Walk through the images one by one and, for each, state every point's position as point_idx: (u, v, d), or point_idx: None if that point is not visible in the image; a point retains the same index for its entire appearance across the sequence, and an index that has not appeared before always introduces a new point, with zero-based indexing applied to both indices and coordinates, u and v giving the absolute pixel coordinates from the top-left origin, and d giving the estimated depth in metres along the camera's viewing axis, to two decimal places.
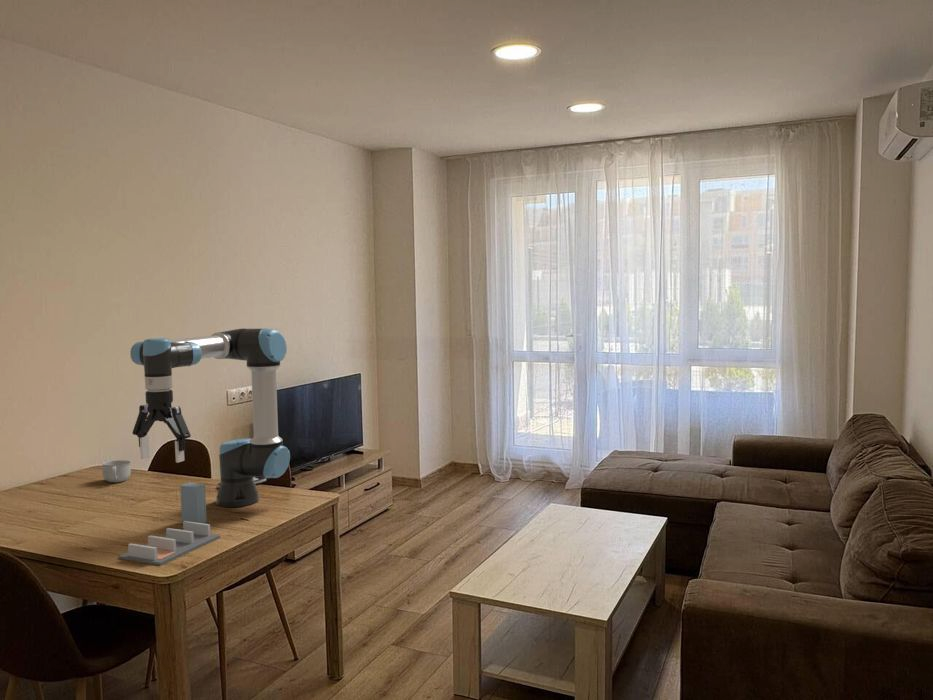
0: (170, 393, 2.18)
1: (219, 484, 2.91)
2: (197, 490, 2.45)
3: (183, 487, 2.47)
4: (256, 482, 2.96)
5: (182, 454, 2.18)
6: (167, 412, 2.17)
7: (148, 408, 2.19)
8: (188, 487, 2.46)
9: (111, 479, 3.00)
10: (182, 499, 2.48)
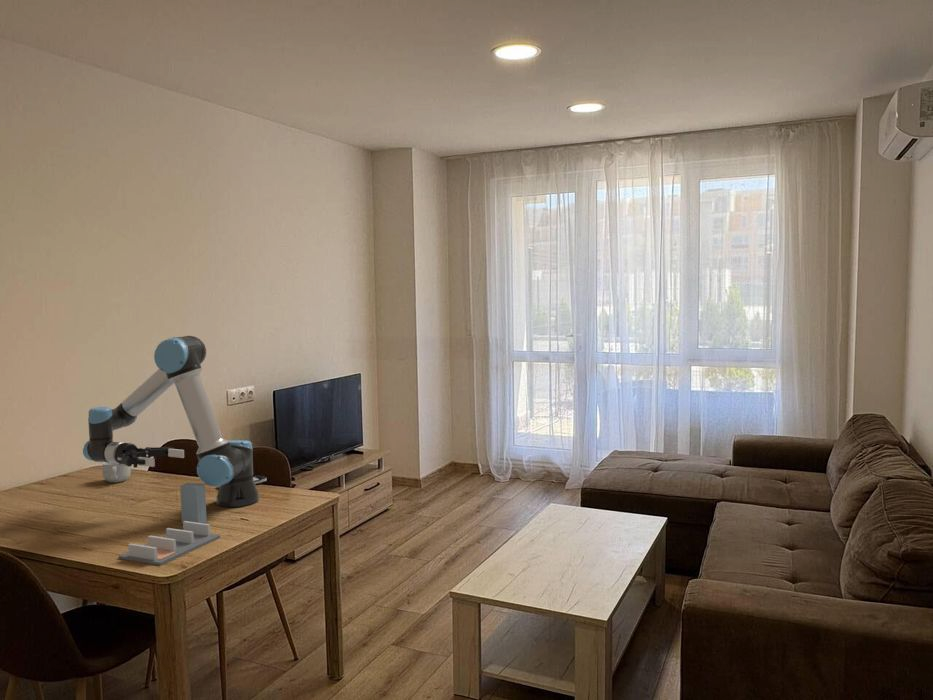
0: (115, 453, 2.55)
1: None
2: (197, 490, 2.45)
3: (183, 487, 2.47)
4: (256, 482, 2.96)
5: (148, 460, 2.45)
6: None
7: None
8: (188, 487, 2.46)
9: (111, 479, 3.00)
10: (182, 499, 2.48)
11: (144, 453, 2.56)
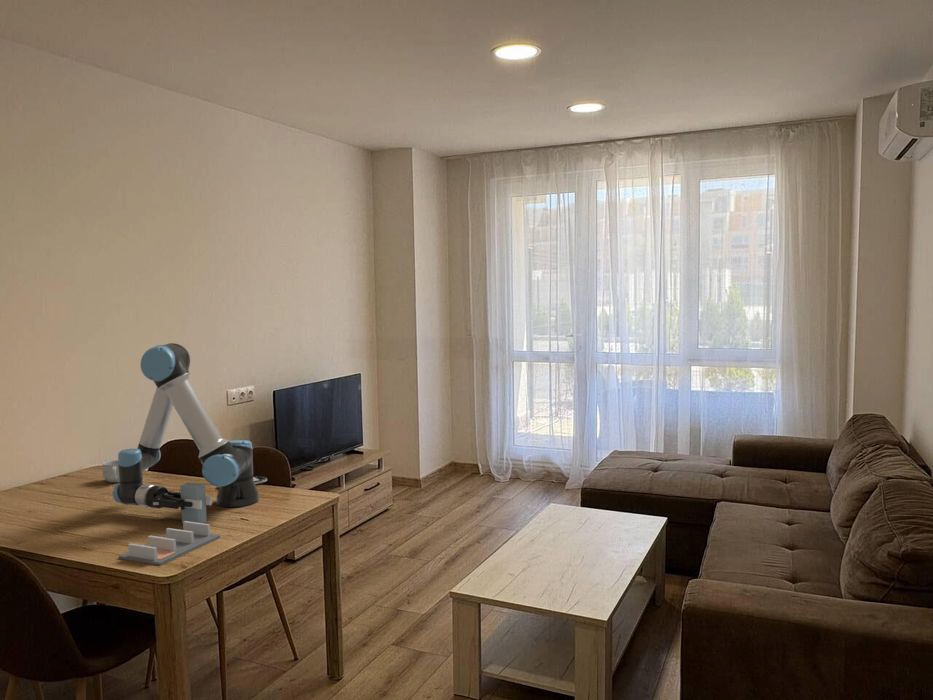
0: (146, 497, 2.51)
1: None
2: (197, 490, 2.45)
3: (183, 487, 2.47)
4: (256, 483, 2.95)
5: (195, 502, 2.45)
6: None
7: None
8: (188, 487, 2.46)
9: (111, 479, 3.00)
10: None
11: (175, 496, 2.53)
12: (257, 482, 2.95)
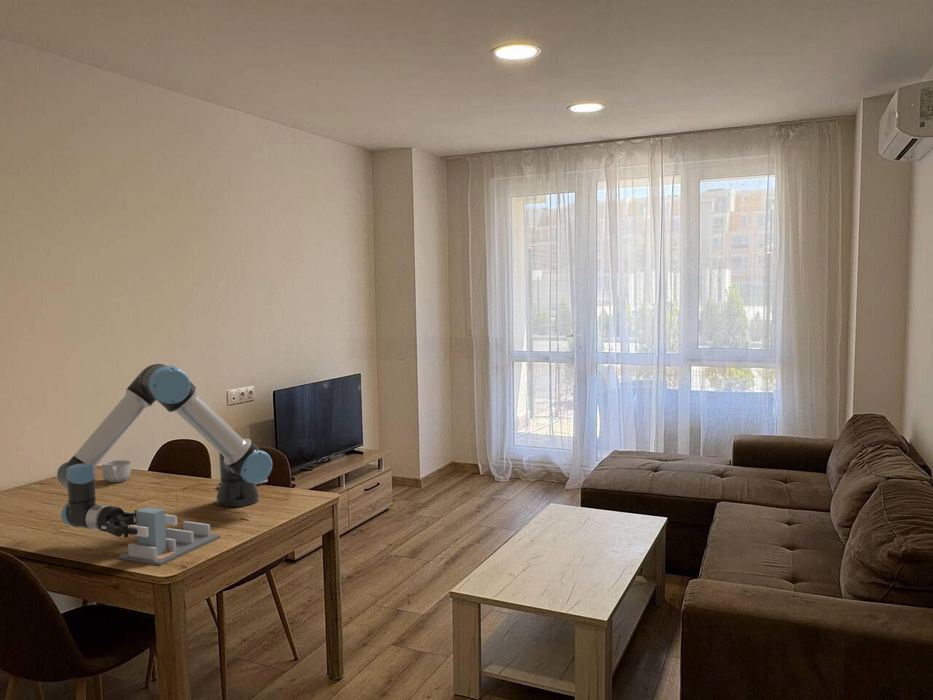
0: (98, 519, 2.20)
1: (219, 484, 2.92)
2: (155, 517, 2.14)
3: (139, 513, 2.16)
4: (256, 483, 2.94)
5: (140, 529, 2.11)
6: None
7: None
8: (145, 513, 2.15)
9: (111, 479, 3.00)
10: None
11: (131, 519, 2.21)
12: (257, 483, 2.95)
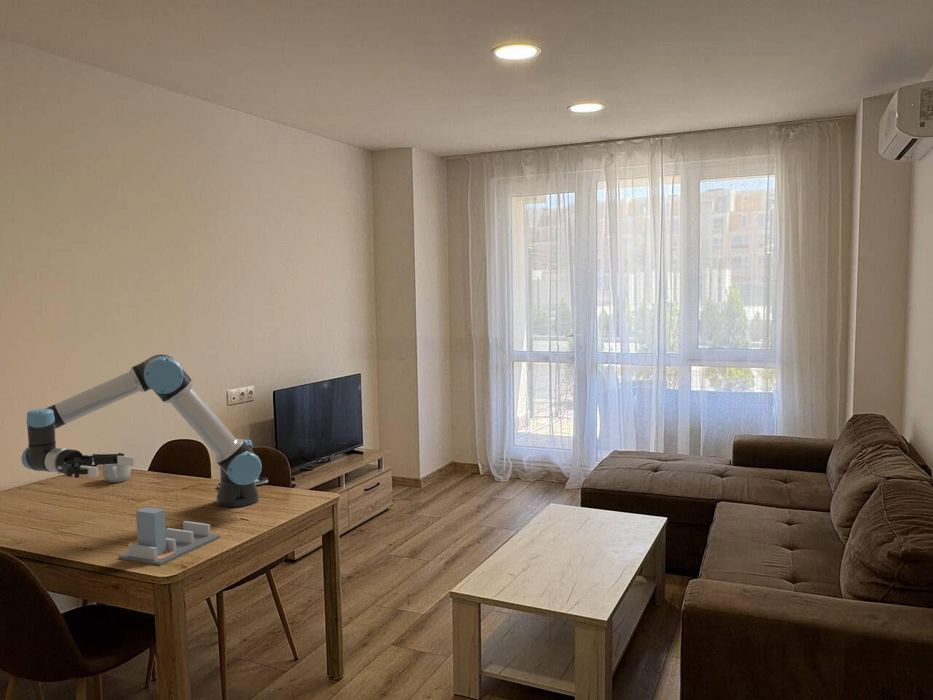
0: (57, 461, 2.25)
1: (219, 484, 2.92)
2: (155, 517, 2.14)
3: (139, 513, 2.16)
4: (255, 484, 2.94)
5: (91, 469, 2.15)
6: None
7: None
8: (145, 513, 2.15)
9: (111, 479, 3.00)
10: (138, 527, 2.16)
11: (89, 461, 2.26)
12: (256, 483, 2.94)
